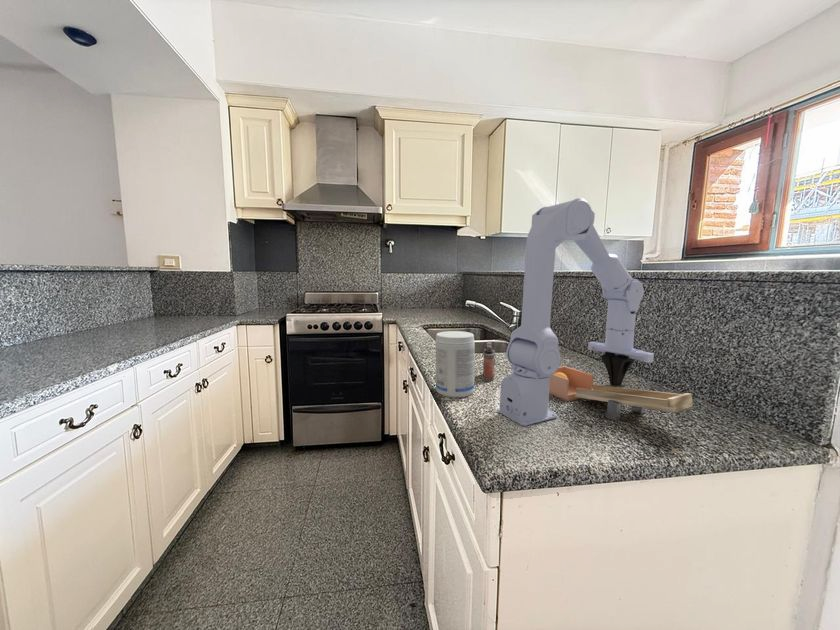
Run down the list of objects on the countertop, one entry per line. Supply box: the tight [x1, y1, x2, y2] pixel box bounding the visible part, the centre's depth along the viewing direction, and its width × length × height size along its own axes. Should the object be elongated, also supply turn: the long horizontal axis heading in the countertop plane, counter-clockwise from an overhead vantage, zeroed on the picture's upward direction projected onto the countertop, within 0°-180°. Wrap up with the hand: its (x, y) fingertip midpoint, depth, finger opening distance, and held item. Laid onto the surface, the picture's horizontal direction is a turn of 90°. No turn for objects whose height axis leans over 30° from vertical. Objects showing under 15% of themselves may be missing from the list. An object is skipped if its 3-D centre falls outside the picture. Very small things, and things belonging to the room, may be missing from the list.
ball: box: [554, 372, 568, 379], centre depth 82 cm, size 4×4×4 cm
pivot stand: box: [606, 400, 646, 422], centre depth 67 cm, size 10×2×4 cm, turn 116°
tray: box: [549, 365, 595, 402], centre depth 80 cm, size 9×9×5 cm
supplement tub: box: [435, 330, 476, 399], centre depth 80 cm, size 10×10×15 cm
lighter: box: [482, 341, 496, 382], centre depth 92 cm, size 8×3×10 cm, turn 168°
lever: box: [575, 383, 694, 413], centre depth 68 cm, size 13×20×2 cm, turn 26°
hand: (615, 384), depth 78 cm, fingers closed, pressing on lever
